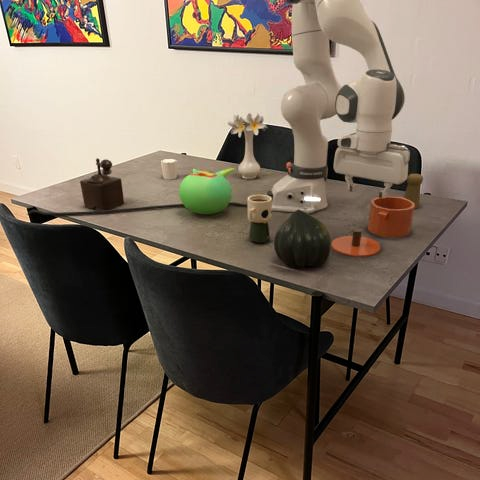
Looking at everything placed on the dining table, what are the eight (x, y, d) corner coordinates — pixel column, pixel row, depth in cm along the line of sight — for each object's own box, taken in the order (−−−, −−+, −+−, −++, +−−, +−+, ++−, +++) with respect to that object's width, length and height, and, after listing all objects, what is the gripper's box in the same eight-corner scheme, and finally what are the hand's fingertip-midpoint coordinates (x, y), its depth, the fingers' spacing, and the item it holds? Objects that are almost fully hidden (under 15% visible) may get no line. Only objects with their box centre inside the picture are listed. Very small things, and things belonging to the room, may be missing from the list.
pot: (358, 236, 147) (361, 207, 143) (379, 218, 160) (383, 191, 155) (398, 245, 141) (403, 215, 136) (417, 226, 154) (422, 198, 149)
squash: (329, 261, 120) (332, 204, 122) (269, 260, 123) (273, 204, 125) (328, 276, 134) (331, 224, 136) (275, 274, 136) (278, 224, 139)
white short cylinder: (177, 179, 200) (176, 162, 196) (160, 180, 200) (159, 162, 196) (179, 175, 206) (178, 158, 202) (163, 175, 206) (161, 158, 202)
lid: (323, 251, 138) (324, 233, 135) (342, 236, 148) (344, 218, 145) (369, 263, 132) (371, 243, 128) (386, 245, 141) (389, 227, 138)
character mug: (260, 249, 140) (260, 205, 133) (239, 244, 144) (239, 201, 137) (278, 236, 148) (279, 195, 141) (258, 232, 151) (258, 191, 144)
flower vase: (241, 170, 212) (241, 108, 198) (274, 177, 201) (275, 113, 188) (220, 176, 204) (218, 112, 190) (253, 184, 193) (253, 118, 179)
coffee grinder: (82, 207, 173) (72, 156, 163) (104, 198, 180) (96, 149, 171) (113, 215, 165) (105, 162, 156) (135, 206, 173) (129, 154, 164)
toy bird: (172, 217, 163) (168, 173, 155) (193, 201, 176) (191, 160, 169) (222, 223, 158) (220, 178, 150) (239, 206, 171) (239, 164, 163)
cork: (420, 209, 167) (426, 177, 161) (401, 208, 168) (407, 176, 162) (418, 203, 172) (424, 172, 166) (400, 202, 173) (405, 171, 167)
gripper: (416, 144, 120) (407, 198, 127) (345, 134, 132) (340, 185, 139) (405, 149, 116) (396, 204, 123) (332, 138, 128) (328, 190, 135)
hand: (366, 194), depth 131 cm, fingers open, 8 cm apart
